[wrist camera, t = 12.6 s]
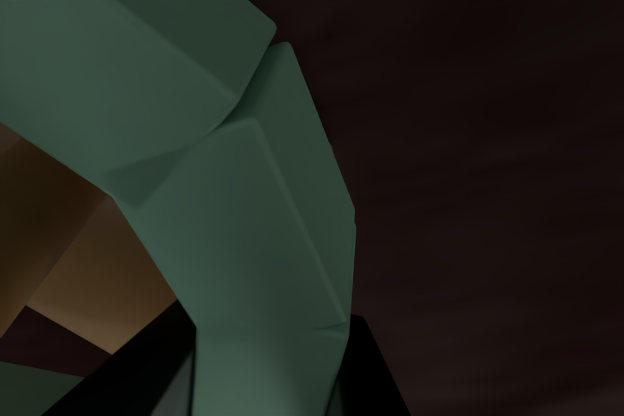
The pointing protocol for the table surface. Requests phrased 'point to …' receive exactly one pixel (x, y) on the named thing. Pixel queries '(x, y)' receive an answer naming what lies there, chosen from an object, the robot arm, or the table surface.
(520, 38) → the table surface
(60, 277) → the stand
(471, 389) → the table surface
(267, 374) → the ring
